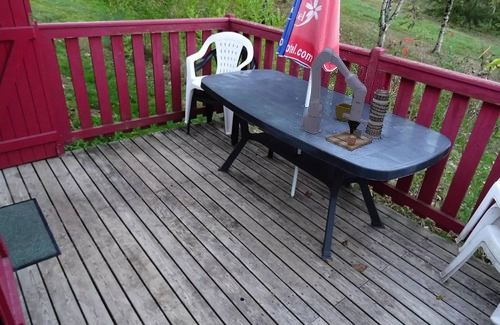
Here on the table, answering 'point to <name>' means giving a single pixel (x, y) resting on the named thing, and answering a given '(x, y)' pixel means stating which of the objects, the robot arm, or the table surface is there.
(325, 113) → the table surface
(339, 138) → the console
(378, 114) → the banded round tower
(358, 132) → the fader
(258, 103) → the table surface
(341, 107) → the flower pot
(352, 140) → the fader
